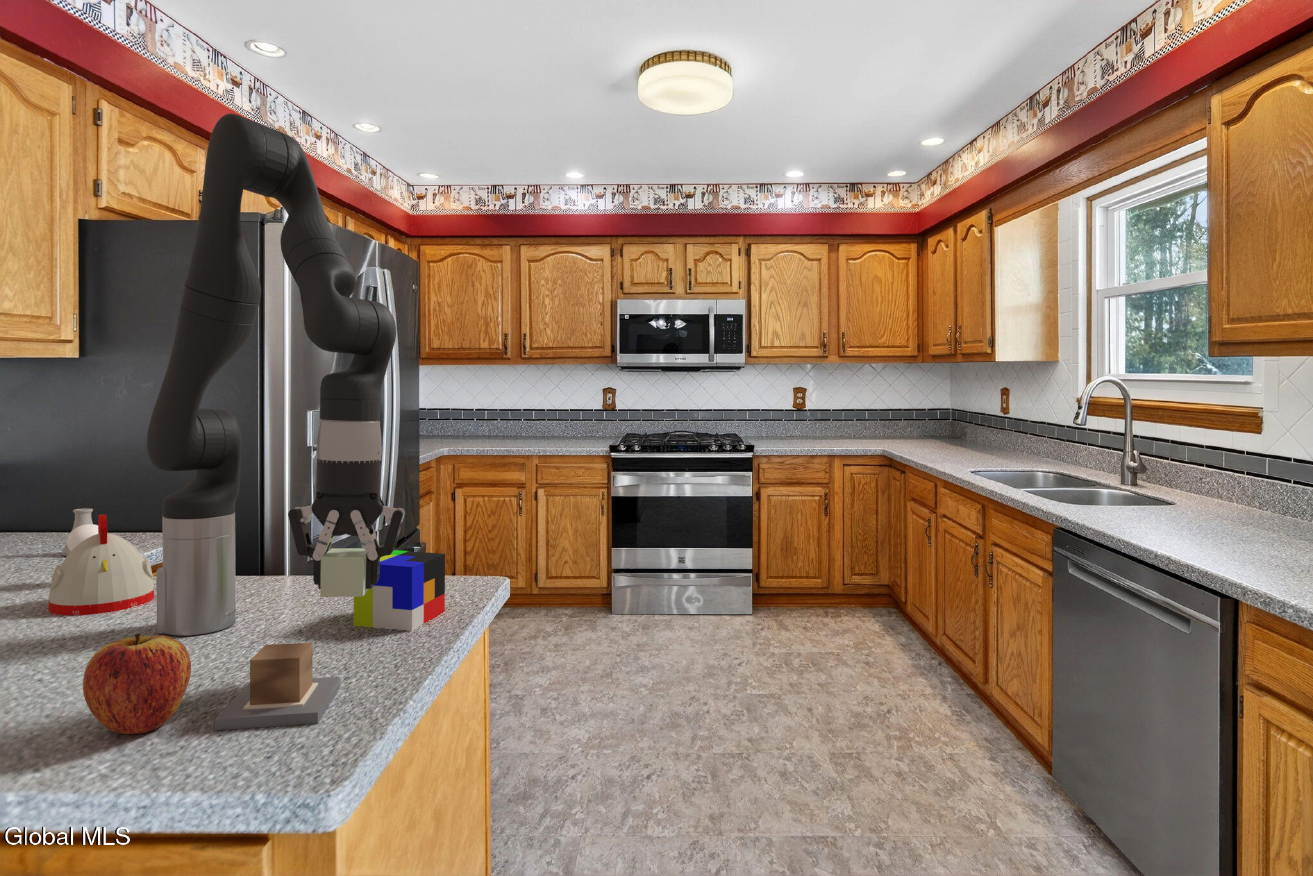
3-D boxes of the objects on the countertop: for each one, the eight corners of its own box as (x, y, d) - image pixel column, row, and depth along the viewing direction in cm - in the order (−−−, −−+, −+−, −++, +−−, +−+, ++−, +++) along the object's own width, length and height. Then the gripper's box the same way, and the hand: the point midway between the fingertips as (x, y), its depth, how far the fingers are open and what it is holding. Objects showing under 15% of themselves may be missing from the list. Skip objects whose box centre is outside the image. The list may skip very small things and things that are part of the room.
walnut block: (250, 705, 76) (249, 660, 75) (266, 687, 81) (265, 644, 80) (299, 702, 77) (299, 657, 76) (312, 684, 82) (312, 642, 81)
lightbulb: (103, 577, 134) (102, 520, 133) (114, 582, 130) (113, 524, 130) (63, 583, 129) (62, 524, 128) (73, 588, 125) (72, 528, 125)
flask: (53, 556, 150) (52, 511, 149) (86, 550, 157) (85, 506, 157) (81, 558, 149) (80, 512, 148) (113, 551, 156) (112, 507, 155)
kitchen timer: (48, 621, 107) (47, 524, 106) (48, 601, 118) (47, 513, 117) (158, 605, 116) (157, 517, 116) (150, 588, 127) (149, 507, 126)
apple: (68, 755, 67) (66, 653, 67) (100, 716, 75) (98, 626, 75) (180, 739, 71) (179, 642, 70) (198, 704, 79) (197, 617, 79)
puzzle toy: (411, 631, 106) (412, 566, 105) (353, 626, 108) (353, 562, 107) (444, 613, 115) (445, 553, 115) (390, 608, 117) (390, 549, 117)
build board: (215, 730, 73) (215, 717, 73) (250, 691, 82) (250, 680, 82) (317, 723, 75) (317, 710, 75) (340, 686, 85) (340, 675, 84)
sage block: (320, 597, 86) (321, 557, 86) (330, 586, 91) (331, 548, 91) (363, 596, 87) (363, 557, 87) (371, 585, 92) (372, 548, 92)
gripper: (278, 456, 83) (276, 596, 84) (404, 459, 86) (401, 595, 87) (297, 451, 90) (295, 580, 91) (412, 454, 93) (409, 579, 94)
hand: (346, 586), depth 89 cm, fingers closed on sage block, 5 cm apart
